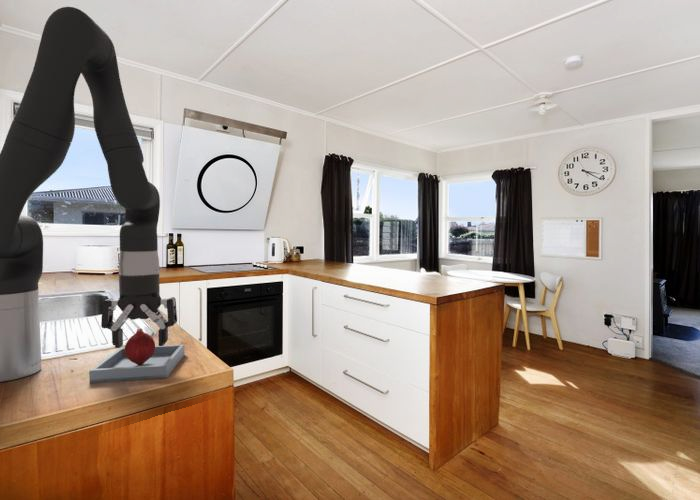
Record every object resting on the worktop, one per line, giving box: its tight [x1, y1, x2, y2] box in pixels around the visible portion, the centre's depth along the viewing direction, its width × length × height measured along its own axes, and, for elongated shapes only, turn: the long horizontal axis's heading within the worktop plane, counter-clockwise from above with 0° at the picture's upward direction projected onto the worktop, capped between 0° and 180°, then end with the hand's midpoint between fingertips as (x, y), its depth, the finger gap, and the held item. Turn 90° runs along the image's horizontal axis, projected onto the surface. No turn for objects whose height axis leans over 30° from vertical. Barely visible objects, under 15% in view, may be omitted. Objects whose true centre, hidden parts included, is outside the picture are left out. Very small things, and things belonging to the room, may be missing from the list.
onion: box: [124, 327, 156, 365], centre depth 78 cm, size 6×6×8 cm
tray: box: [88, 344, 185, 384], centre depth 79 cm, size 14×14×2 cm
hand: (140, 346), depth 79 cm, fingers open, 8 cm apart
